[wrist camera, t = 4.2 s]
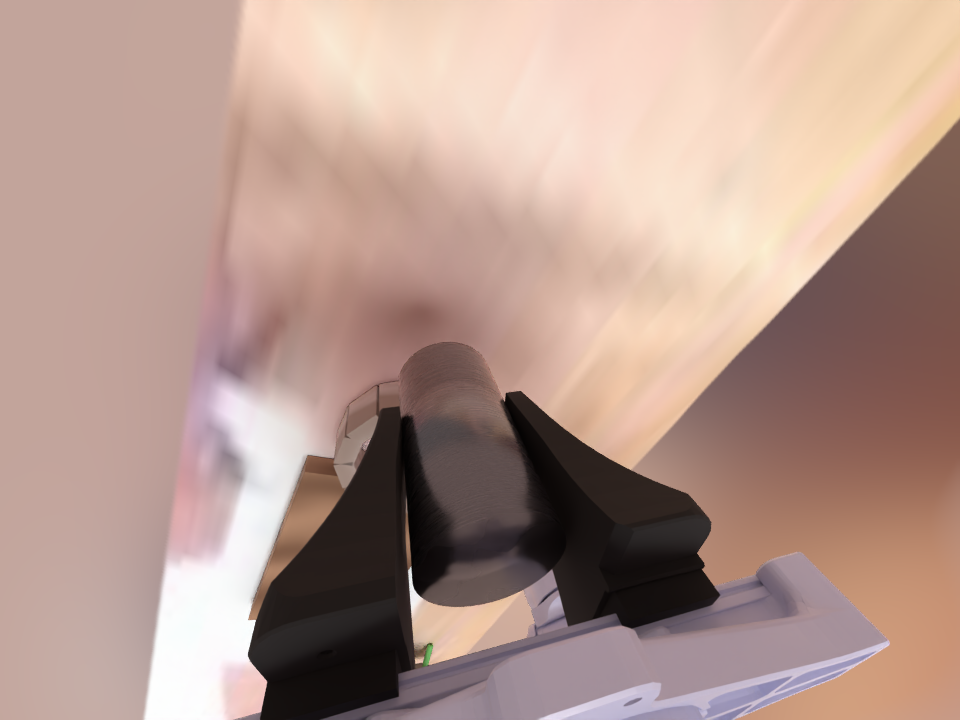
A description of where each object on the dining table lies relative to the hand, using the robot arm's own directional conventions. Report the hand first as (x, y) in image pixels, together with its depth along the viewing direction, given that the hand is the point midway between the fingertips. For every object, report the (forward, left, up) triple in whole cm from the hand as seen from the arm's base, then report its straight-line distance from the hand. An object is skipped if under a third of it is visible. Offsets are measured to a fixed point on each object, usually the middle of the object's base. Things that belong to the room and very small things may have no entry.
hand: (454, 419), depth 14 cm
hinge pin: (0, 0, -2) cm, 2 cm away
